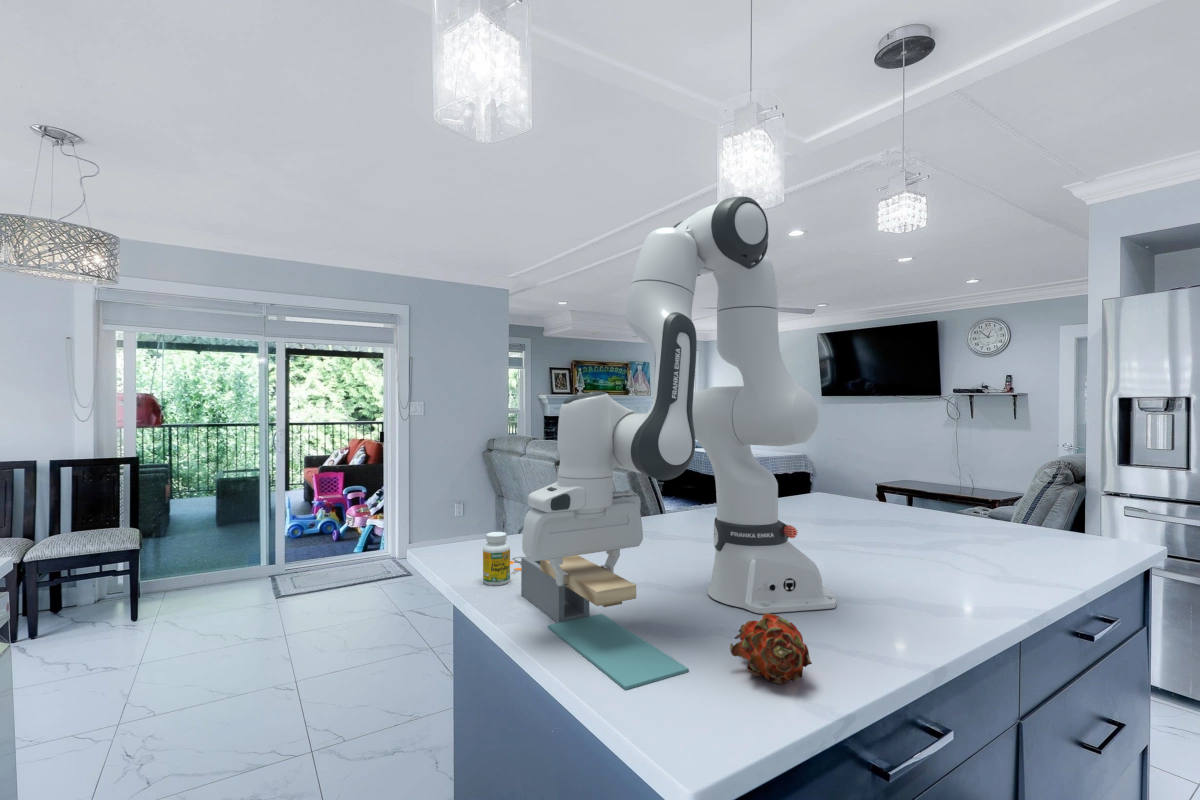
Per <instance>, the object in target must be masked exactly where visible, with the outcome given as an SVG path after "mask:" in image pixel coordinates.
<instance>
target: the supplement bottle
mask: <svg viewBox="0 0 1200 800" xmlns="http://www.w3.org/2000/svg"><path fill="white" fill-rule="evenodd" d="M507 537H508V536H507V532H504V531H503V532H502V531H493V532H492V531H491V532H488V533H486V535H485V541H486V544H484V545H483V547H482V582H483V583H484V584H485V585H486V586H487V585H488V586H492V585H496V586H503V585H506V584H508V583H509V582H510V581H511V564H510V561H511V547H510V545H509V543H508V542H507V539H508V538H507Z"/></svg>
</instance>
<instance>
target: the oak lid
mask: <svg viewBox="0 0 1200 800" xmlns="http://www.w3.org/2000/svg"><path fill="white" fill-rule="evenodd" d="M559 565H560V564H559ZM560 567H561V569H562V571H564V572H566V573H568V574H569V579H568V580H569V585H564V586H566V587H568V588H569V589H571V590H572V591H574V592H575V593H577V594H579V595H580V596H582V597H583V598H585V599H586V600H588V601H589V603H592V604H593V605H594V606H596V607H599V606H601V607H603V608H608V607H614V606H618V605H623V602H625V601H631V600H636V599H637V584H635V583H633V582H631V581H630V580H628V579H625V578H623V577H621V576H620V575H618V574H616V573H615V572H614V573H612V572H610V571H608V570H606V569H604V568H602V567H601V565H598V564H596V563H594V562H592V561H590V560H588V559H586V558H584V557H582V556H581V555H576V556H569V557H563V564H561V565H560ZM540 570H541V571H542V572H544V573H546V574H547V575H549V576H550V577H552V578H553V579H555V580H556V573H555V572H554V570H553V568H552V567H551V565H550V563H549V560H542V561H540Z"/></svg>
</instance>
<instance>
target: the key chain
mask: <svg viewBox="0 0 1200 800" xmlns="http://www.w3.org/2000/svg"><path fill="white" fill-rule="evenodd" d="M521 557H522V556H516V557H512V561H511V560H510V565H513V564H515V563H519V565H521V560H518V559H521ZM518 572H521V567H516V568H514V569H513V571H512V572H510V575H512V574H513V575H516V574H517V573H518Z"/></svg>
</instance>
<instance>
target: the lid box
mask: <svg viewBox="0 0 1200 800" xmlns="http://www.w3.org/2000/svg"><path fill="white" fill-rule="evenodd" d="M520 557H521V558H520V561H521V564H520V566H521V567H520V568H521V571H520V572H521V577H520V579H521V583H520V585H521V587H520V590H521V591H520V596H522V597H523V598H524V599H526V600H527V601H528V602H529V603H530V604H532V605H534V607H536V608H538V609H539V610H540V611H542V612H543V614H546V615H547V616H548V617H549V618H550V619H552V620H553V621H554V622H555V623H559V622H564V621H569V620H574V619H579V618H583V617H588V616H590V601H588V600H586V599H585V598H583V597H582V596H580V595H579V594H577V593H575V592H574V591H572V590H571V589H569V588H568V587H566V586H558V585H557V584H556V580H555V579H553V578H552V577H550V576H549V575H547V574H546V573H544V572H542V571H541V570H540V561H533V560H531V559H529V558H528V557H527V556H520Z"/></svg>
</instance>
